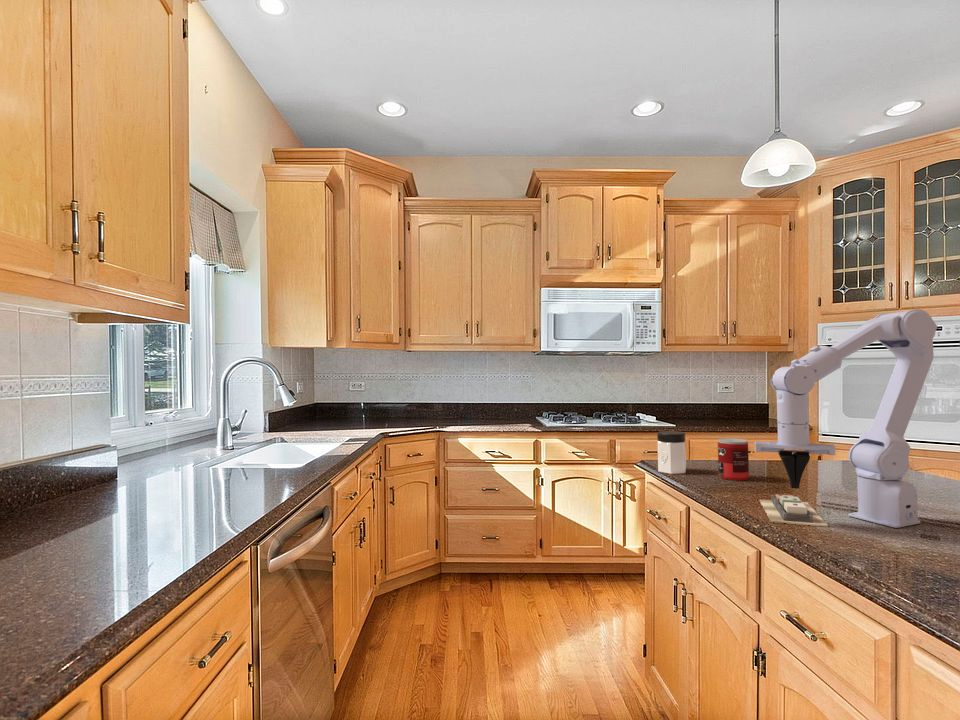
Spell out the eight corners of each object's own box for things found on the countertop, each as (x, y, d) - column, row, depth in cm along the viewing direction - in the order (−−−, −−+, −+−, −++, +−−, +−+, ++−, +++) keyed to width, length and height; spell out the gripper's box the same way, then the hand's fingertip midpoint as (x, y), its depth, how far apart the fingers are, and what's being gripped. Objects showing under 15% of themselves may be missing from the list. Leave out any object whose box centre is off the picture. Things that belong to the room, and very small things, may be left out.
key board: (827, 527, 105) (827, 518, 105) (771, 522, 108) (771, 514, 108) (807, 504, 121) (807, 496, 121) (759, 500, 125) (759, 493, 125)
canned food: (722, 474, 155) (721, 437, 156) (751, 477, 150) (750, 439, 150) (715, 478, 149) (714, 440, 150) (745, 482, 144) (744, 442, 145)
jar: (651, 470, 162) (650, 432, 162) (667, 467, 167) (666, 430, 167) (677, 475, 155) (676, 435, 155) (692, 471, 160) (691, 432, 160)
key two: (801, 507, 113) (801, 500, 113) (782, 506, 114) (782, 499, 114) (797, 503, 116) (797, 496, 116) (779, 502, 117) (779, 495, 117)
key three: (796, 505, 118) (796, 498, 118) (778, 504, 119) (778, 497, 119) (793, 501, 121) (792, 495, 121) (775, 500, 122) (775, 494, 122)
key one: (807, 514, 107) (807, 507, 107) (787, 513, 109) (787, 505, 109) (803, 509, 111) (803, 502, 111) (784, 508, 112) (783, 501, 112)
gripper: (829, 421, 111) (831, 485, 111) (752, 420, 117) (754, 480, 116) (836, 425, 104) (838, 493, 104) (755, 423, 110) (757, 487, 110)
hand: (794, 487), depth 110 cm, fingers closed
